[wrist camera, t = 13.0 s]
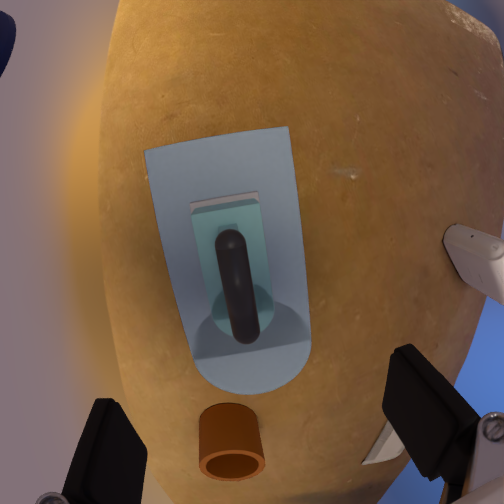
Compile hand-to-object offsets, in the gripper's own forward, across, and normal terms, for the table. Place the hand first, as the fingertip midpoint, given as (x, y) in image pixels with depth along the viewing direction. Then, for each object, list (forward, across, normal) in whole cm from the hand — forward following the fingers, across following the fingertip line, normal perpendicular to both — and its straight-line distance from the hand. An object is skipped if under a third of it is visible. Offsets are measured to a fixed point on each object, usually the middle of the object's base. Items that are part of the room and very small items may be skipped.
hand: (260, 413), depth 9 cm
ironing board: (+25, 0, +4) cm, 25 cm away
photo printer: (+24, -32, +8) cm, 41 cm away
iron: (+20, 0, +1) cm, 20 cm away
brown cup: (+25, +6, +30) cm, 39 cm away
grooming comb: (+24, -26, +46) cm, 58 cm away
